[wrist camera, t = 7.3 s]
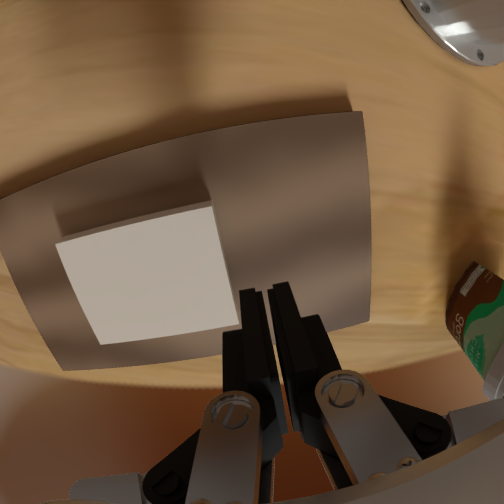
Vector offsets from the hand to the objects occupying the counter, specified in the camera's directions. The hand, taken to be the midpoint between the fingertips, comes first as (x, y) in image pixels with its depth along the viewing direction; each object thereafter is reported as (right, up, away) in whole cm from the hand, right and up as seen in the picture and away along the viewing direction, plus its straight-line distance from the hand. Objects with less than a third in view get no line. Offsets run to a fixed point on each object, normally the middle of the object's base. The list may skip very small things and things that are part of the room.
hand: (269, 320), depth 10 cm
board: (-5, +2, +8) cm, 10 cm away
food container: (+19, -3, +13) cm, 23 cm away
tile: (-2, +2, +6) cm, 7 cm away
